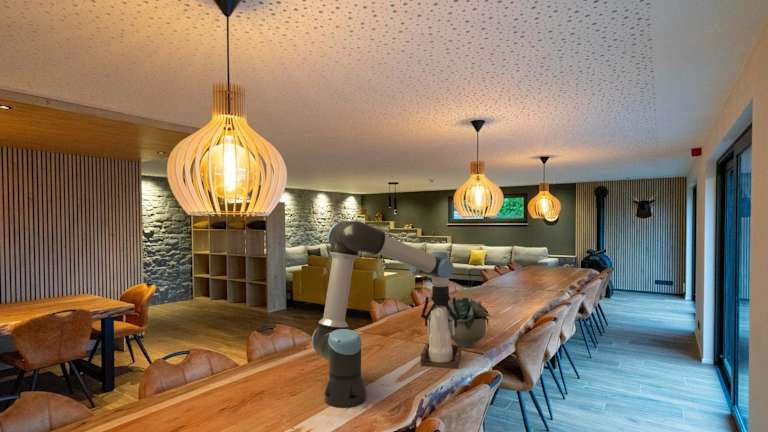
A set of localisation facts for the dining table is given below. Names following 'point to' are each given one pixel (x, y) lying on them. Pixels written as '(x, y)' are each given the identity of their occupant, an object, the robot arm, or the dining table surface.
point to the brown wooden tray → (451, 364)
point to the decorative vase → (439, 336)
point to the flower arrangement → (468, 322)
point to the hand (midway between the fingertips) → (441, 333)
